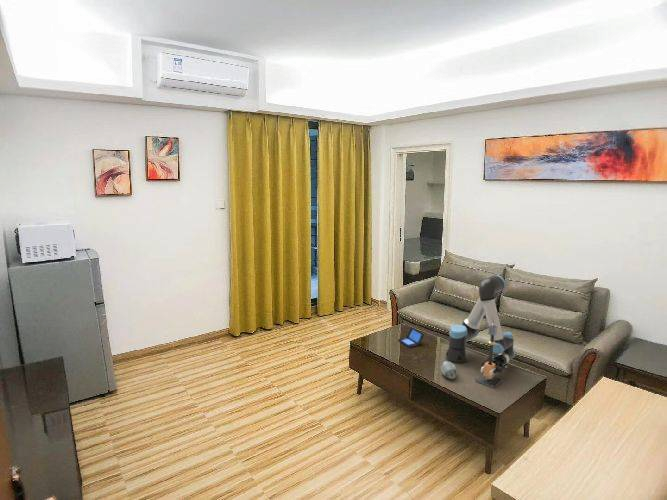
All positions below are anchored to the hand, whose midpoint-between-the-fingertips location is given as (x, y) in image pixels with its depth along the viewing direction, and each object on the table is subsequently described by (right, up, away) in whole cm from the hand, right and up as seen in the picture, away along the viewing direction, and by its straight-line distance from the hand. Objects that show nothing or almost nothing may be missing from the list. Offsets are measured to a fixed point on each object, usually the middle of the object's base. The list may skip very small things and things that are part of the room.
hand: (485, 371), depth 255 cm
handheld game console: (-35, +4, +62) cm, 72 cm away
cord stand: (+4, -8, +5) cm, 10 cm away
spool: (-20, -6, +13) cm, 24 cm away
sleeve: (+4, -4, +5) cm, 7 cm away
